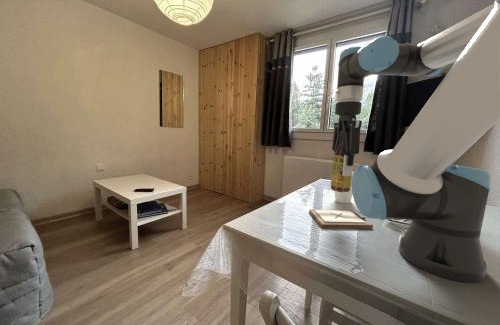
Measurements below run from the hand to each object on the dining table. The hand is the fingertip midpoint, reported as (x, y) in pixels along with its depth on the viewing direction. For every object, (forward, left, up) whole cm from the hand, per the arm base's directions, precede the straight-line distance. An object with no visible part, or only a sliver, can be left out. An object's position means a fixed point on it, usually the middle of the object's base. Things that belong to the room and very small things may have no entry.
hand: (342, 173), depth 70 cm
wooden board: (0, 0, -16) cm, 16 cm away
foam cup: (+21, -12, -16) cm, 29 cm away
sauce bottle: (0, 0, -6) cm, 6 cm away
